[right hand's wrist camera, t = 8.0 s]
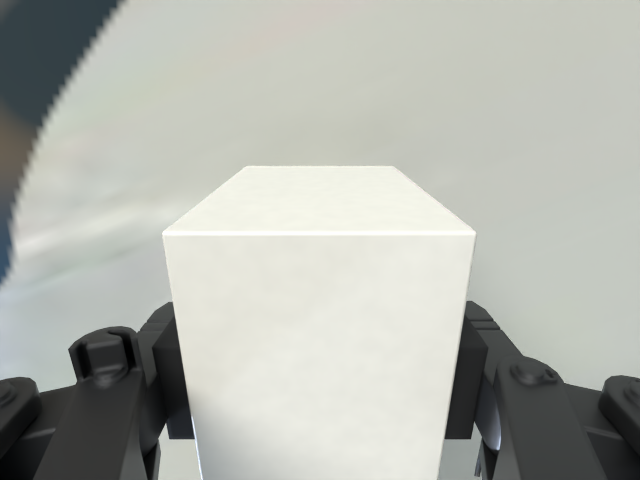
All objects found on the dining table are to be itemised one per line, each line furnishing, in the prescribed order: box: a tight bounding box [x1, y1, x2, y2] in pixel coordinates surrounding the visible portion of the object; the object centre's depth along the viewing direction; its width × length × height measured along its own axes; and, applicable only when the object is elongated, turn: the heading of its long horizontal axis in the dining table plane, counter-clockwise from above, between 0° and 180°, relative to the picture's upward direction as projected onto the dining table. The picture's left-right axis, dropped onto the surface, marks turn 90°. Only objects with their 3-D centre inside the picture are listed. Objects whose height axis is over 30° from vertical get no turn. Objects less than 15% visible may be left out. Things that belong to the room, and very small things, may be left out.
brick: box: [162, 166, 477, 480], centre depth 12 cm, size 6×8×8 cm
